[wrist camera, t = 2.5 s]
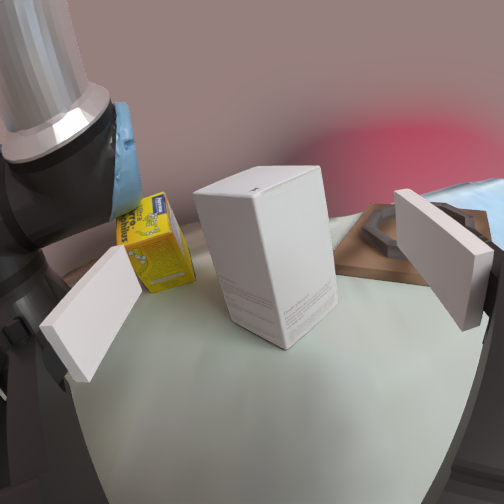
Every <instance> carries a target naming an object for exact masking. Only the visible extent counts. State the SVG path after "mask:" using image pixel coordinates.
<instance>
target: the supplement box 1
mask: <svg viewBox="0 0 504 504" xmlns="http://www.w3.org/2000/svg"><path fill="white" fill-rule="evenodd" d="M116 231H117V232H116V234H117V246H118V245H124V248H125V250H126V253H127V255H128V258H129V260H130V263H131V265H132V267H133V270H134V272H135V273H136V274H137V276H138V277H139V278H140V279H141V281H142V282H143V283H144V285H145V286H146V287H147V288H148V290H149V291H150V292H151V293H156V292H159V291H163V290H166V289H170V288H173V287H176V286H180V285H183V284H186V283H190V282H193V281H195V273H194V268H193V264H192V260H191V256H190V252H189V248H188V246H187V244H186V241H185V239H184V237H183V235H182V232H181V230H180V228H179V225H178V223H177V221H176V218H175V216H174V214H173V211H172V209H171V206H170V204H169V202H168V199H167V197H166V194H165V193H164V192H161V193H158V194H155V195H152V196H149V197H146V198H143V199H142V200H141V202H140V204H139V205H138V206H137V208H135V209H134V210H133V211H130V212H128V213H126V214H124V215H121V216H119V217H117V218H116Z"/></svg>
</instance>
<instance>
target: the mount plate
mask: <svg viewBox="0 0 504 504" xmlns="http://www.w3.org/2000/svg"><path fill="white" fill-rule="evenodd" d="M430 203H431V204H433V205H434V206H436V207H437V208H439V209H440V210H441V211H443V212H444V213H446V214H447V215H448V216H450V217H451V218H453V219H454V220H455V221H457V222H458V223H459V224H461V225H462V226H463V225H465V226H468V227H471V228H473V229H475V230H477V231H478V232H480V233H481V234H482V235H483V236H485V237H486V238H487V239H489V241H491V242H492V240H491V234H490V228H489V223H488V218H487V213H486V211H480V210H469V209H458V208H455V207H453V206H451V205H449V204H447V203H437V202H430ZM333 257H334V265H335V274H339V275H346V276H354V277H362V278H369V279H377V280H385V281H393V282H401V283H408V284H416V285H424V286H429V285H428V284H427V283H426V281H425V280H424V279H423V277H422V276H421V275H420V273H419V272H418V271H417V270H416V268H415V267H414V266H413V265H412V263H411V262H410V261H409V260H408V258H407V257H406V256H405V255H404V254H403V252H402V251H401V250H400V249H399V247H398V246H397V232H396V212H395V204H370V205H369V206H368V208H367V209H366V210H365V212H364V213H363V214H362V216H361V217H360V218H359V220H358V221H357V222H356V224H355V225H354V226H353V228H352V229H351V230H350V232H349V233H348V234H347V235H346V237H345V238H344V239H343V241H342V242H341V243H340V244H339V246H338V247H337V248H336V250H335V251H334V252H333Z"/></svg>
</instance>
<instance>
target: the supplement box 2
mask: <svg viewBox="0 0 504 504" xmlns="http://www.w3.org/2000/svg"><path fill="white" fill-rule="evenodd" d="M192 194H193V198H194V201H195V205H196V208H197V211H198V215H199V218H200V222H201V225H202V228H203V232H204V235H205V238H206V241H207V245H208V248H209V251H210V254H211V257H212V261H213V264H214V267H215V270H216V273H217V276H218V279H219V283H220V286H221V289H222V292H223V295H224V298H225V302H226V305H227V308H228V311H229V314H230V317H231V320H232V321H233V322H235V323H237V324H238V325H240V326H242V327H244V328H246V329H248V330H249V331H251V332H253V333H255V334H257V335H259V336H260V337H262V338H264V339H266V340H268V341H270V342H272V343H274V344H275V345H277V346H279V347H281V348H283V349H285V350H287V349H288V348H290V347H291V346H292V345H293V344H295V343H296V342H297V341H298V340H299V339H300V338H301V337H303V336H304V335H305V334H306V333H307V332H308V331H309V330H311V329H312V328H313V327H314V326H315V325H316V324H317V323H318V322H319V321H321V320H322V319H323V318H324V317H325V316H326V315H327V314H328V313H329V312H330V311H331V310H332V309H333V308H334V307H335V306H336V305H337V304H338V294H337V283H336V274H335V265H334V257H333V249H332V241H331V233H330V225H329V219H328V212H327V206H326V199H325V193H324V186H323V181H322V175H321V169H320V166H256V167H253V168H251V169H248V170H245V171H243V172H240V173H238V174H235V175H232V176H230V177H228V178H225V179H223V180H220V181H218V182H216V183H213V184H211V185H209V186H206V187H204V188H202V189H200V190H197V191H195V192H193V193H192Z"/></svg>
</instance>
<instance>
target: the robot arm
mask: <svg viewBox="0 0 504 504" xmlns="http://www.w3.org/2000/svg"><path fill="white" fill-rule="evenodd" d="M0 117H1V118H2V120H3V122H4V124H5V126H6V133H5V137H4V140H3V144H0V389H1V390H2V391H3V393H4V394H5V395H6V396H7V399H6V401H5V400H4V399H3V398H2V397H1V396H0V504H109V502H108V500H107V498H106V496H105V493H104V491H103V489H102V486H101V484H100V481H99V479H98V476H97V474H96V471H95V469H94V466H93V463H92V461H91V458H90V455H89V452H88V449H87V446H86V443H85V440H84V437H83V434H82V431H81V427H80V424H79V421H78V417H77V413H76V410H75V406H74V402H73V398H72V394H71V390H70V386H69V383H68V381H67V380H66V379H65V377H64V376H65V375H66V373H67V371H68V372H69V373H70V375H71V376H72V377H73V379H74V380H75V381H76V382H88V383H90V381H91V379H92V377H93V375H94V374H95V372H96V370H97V368H98V366H99V364H100V363H101V361H102V359H103V357H104V355H105V354H106V352H107V350H108V348H109V347H110V345H111V343H112V341H113V340H114V338H115V336H116V334H117V333H118V331H119V329H120V327H121V326H122V324H123V322H124V321H125V319H126V317H127V316H128V314H129V312H130V311H131V309H132V307H133V306H134V304H135V302H136V301H137V299H138V297H139V296H140V294H141V293H142V289H141V286H140V284H139V282H138V279H137V277H136V275H135V272H134V270H133V267H132V265H131V263H130V260H129V258H128V255H127V253H126V250H125V248H124V245H118V246H114V247H111V248H110V249H109V250H108V251H107V252H106V253H105V254H104V255H103V256H102V257H101V258H100V259H99V260H98V261H97V262H96V263H95V264H94V265H93V266H92V267H91V268H90V269H89V271H88V272H87V273H86V274H85V275H84V276H83V277H82V278H81V279H80V280H79V281H78V282H77V283H76V284H75V286H74V287H73V288H72V289H71V288H70V287H69V286H68V285H67V284H66V283H65V282H64V281H63V280H62V279H61V278H60V276H58V274H57V273H56V272H55V271H54V270H53V269H52V268H51V267H50V266H49V264H48V262H47V260H46V258H45V256H44V254H43V251H42V249H41V248H43V247H45V246H47V245H50V244H52V243H55V242H57V241H60V240H62V239H65V238H67V237H69V236H72V235H75V234H77V233H80V232H83V231H85V230H88V229H91V228H93V227H96V226H99V225H101V224H104V223H107V222H108V223H109V222H111V221H113V220H114V218H117V217H119V216H121V215H124V214H126V213H128V212H130V211H133V210H134V209H135V208H137V206H138V205H139V204H140V202H141V200H142V195H143V193H142V184H141V177H140V170H139V165H138V158H137V153H136V148H135V145H134V143H135V142H134V136H133V130H132V129H133V128H132V122H131V118H130V112H129V107H128V105H127V103H126V102H114V103H113V104H112V103H111V99H110V96H109V93H108V91H107V90H106V88H104V87H102V86H99V85H97V84H94V83H91V82H89V81H88V80H87V76H86V73H85V70H84V66H83V63H82V59H81V56H80V52H79V49H78V45H77V41H76V37H75V33H74V29H73V25H72V21H71V17H70V13H69V8H68V4H67V0H0ZM394 197H395V212H396V232H397V246H398V247H399V249H400V250H401V251H402V252H403V254H404V255H405V256H406V257H407V258H408V260H409V261H410V262H411V263H412V265H413V266H414V267H415V268H416V270H417V271H418V272H419V273H420V275H421V276H422V277H423V279H424V280H425V281H426V283H427V284H428V285H429V286H430V288H431V289H432V290H433V292H434V293H435V294H436V296H437V297H438V298H439V300H440V301H441V303H442V304H443V305H444V307H445V308H446V309H447V311H448V312H449V314H450V315H451V316H452V318H453V319H454V321H455V322H456V324H457V325H458V327H459V328H460V329H461V331H462V332H463V331H466V330H469V329H471V328H474V327H477V326H480V323H481V319H482V315H483V311H485V313H486V314H487V315H488V316H489V321H488V325H487V329H486V332H485V336H484V339H483V342H482V344H483V348H482V352H481V356H480V360H479V364H478V367H477V371H476V375H475V378H474V381H473V385H472V388H471V391H470V394H469V397H468V400H467V403H466V406H465V409H464V412H463V415H462V417H461V420H460V423H459V425H458V428H457V430H456V433H455V435H454V438H453V440H452V443H451V445H450V447H449V449H448V452H447V454H446V456H445V458H444V460H443V463H442V465H441V467H440V469H439V471H438V473H437V475H436V477H435V479H434V481H433V483H432V485H431V486H430V488H429V490H428V492H427V494H426V496H425V497H424V499H423V501H422V503H421V504H504V251H503V250H501V249H500V248H499V247H498V246H496V245H495V244H494V243H493V242H491V241H489V239H487V238H486V237H485V236H483V235H482V234H481V233H480V232H478V231H477V230H475V229H473V228H471V227H468V226H465V225H463V226H462V225H461V224H459V223H458V222H457V221H455V220H454V219H453V218H451V217H450V216H448V215H447V214H446V213H444V212H443V211H441V210H440V209H439V208H437V207H436V206H434V205H433V204H431V203H430V202H428V201H427V200H425V199H424V198H422V197H421V196H419V195H418V194H416V193H415V192H413V191H412V190H410V189H403V190H397V191H394Z"/></svg>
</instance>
